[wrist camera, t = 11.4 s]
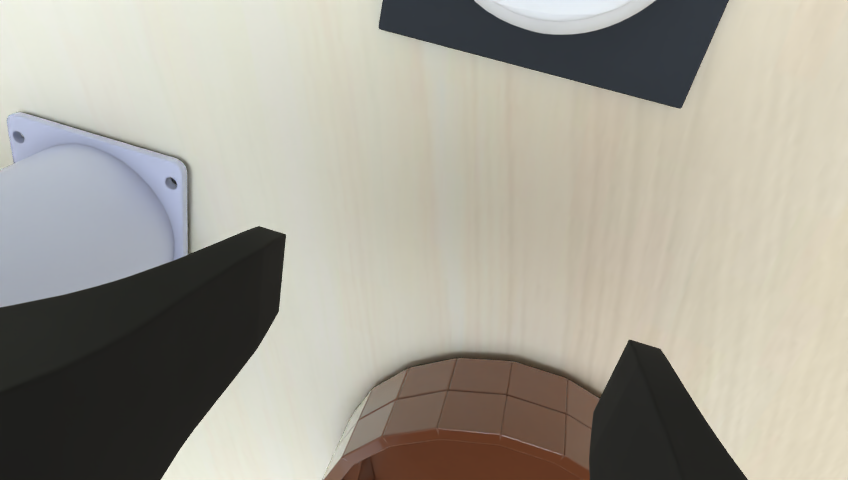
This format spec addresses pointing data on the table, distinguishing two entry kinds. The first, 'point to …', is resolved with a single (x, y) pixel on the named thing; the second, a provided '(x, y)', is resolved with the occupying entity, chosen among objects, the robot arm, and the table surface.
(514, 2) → the supplement bottle
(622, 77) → the coaster
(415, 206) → the table surface
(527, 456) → the glazed bowl
